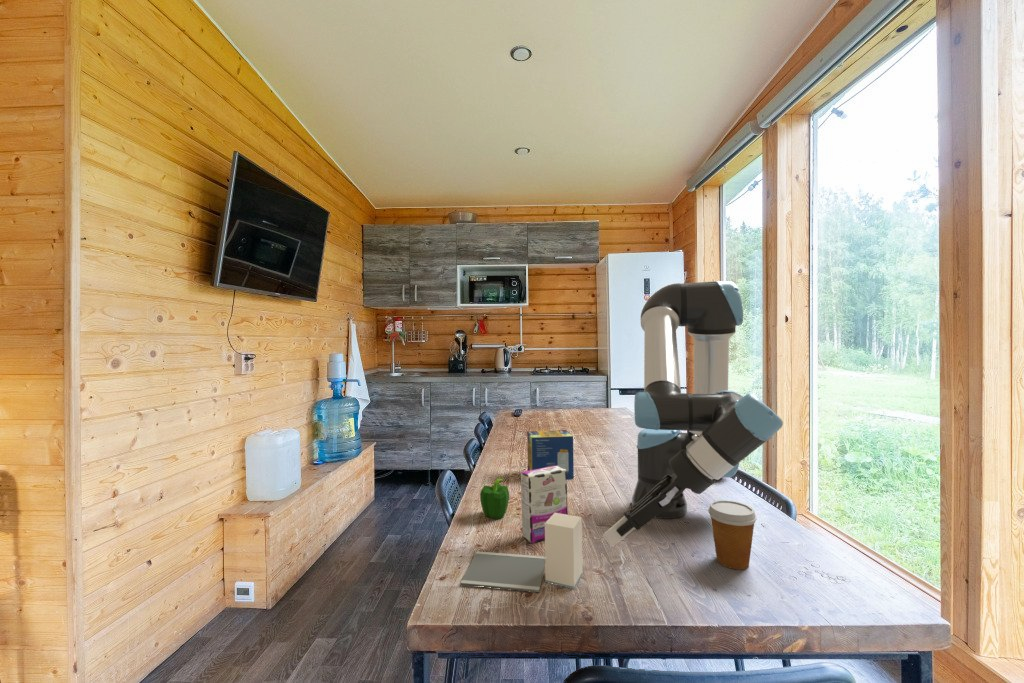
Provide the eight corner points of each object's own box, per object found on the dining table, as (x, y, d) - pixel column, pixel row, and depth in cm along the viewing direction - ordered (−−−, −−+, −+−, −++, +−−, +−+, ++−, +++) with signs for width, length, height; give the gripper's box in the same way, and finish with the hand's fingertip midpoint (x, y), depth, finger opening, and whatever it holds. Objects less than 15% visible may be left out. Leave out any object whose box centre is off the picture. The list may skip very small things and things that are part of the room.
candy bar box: (557, 526, 113) (556, 464, 113) (568, 534, 108) (567, 469, 108) (520, 536, 108) (519, 471, 108) (530, 544, 103) (529, 476, 103)
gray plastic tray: (546, 559, 96) (545, 556, 96) (539, 592, 83) (539, 589, 83) (477, 554, 99) (476, 551, 99) (460, 585, 86) (460, 582, 86)
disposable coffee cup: (756, 578, 87) (755, 519, 87) (705, 566, 92) (705, 510, 92) (758, 558, 95) (757, 504, 95) (711, 547, 100) (710, 496, 100)
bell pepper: (486, 524, 115) (485, 486, 115) (476, 513, 123) (476, 478, 123) (514, 518, 119) (514, 482, 119) (503, 508, 126) (503, 474, 126)
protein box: (527, 472, 160) (526, 431, 160) (567, 470, 162) (566, 429, 162) (531, 481, 150) (530, 437, 150) (574, 479, 152) (573, 435, 152)
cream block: (582, 574, 90) (581, 517, 90) (574, 589, 84) (573, 528, 84) (555, 568, 92) (554, 512, 92) (545, 582, 87) (544, 523, 87)
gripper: (685, 440, 84) (602, 512, 91) (681, 456, 72) (586, 538, 79) (715, 470, 82) (627, 542, 89) (716, 492, 70) (615, 572, 77)
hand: (608, 540), depth 84 cm, fingers closed
